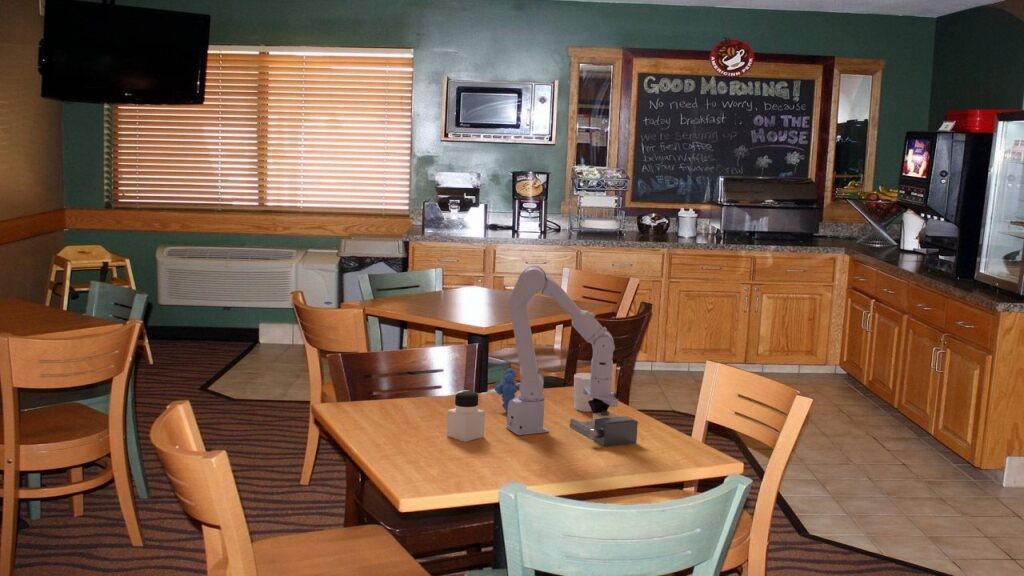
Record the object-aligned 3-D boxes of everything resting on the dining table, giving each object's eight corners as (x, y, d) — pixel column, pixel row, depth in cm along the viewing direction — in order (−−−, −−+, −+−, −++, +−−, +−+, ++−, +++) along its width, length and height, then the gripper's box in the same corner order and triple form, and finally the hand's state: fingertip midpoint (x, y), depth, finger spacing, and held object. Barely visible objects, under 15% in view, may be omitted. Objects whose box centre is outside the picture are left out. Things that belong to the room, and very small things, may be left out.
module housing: (593, 448, 247) (595, 424, 246) (557, 428, 264) (558, 405, 263) (636, 443, 253) (637, 419, 252) (598, 423, 270) (599, 401, 269)
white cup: (589, 414, 280) (591, 380, 278) (567, 408, 284) (568, 375, 283) (604, 409, 286) (606, 376, 285) (581, 404, 291) (583, 371, 289)
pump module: (601, 436, 254) (603, 415, 253) (591, 431, 259) (592, 410, 258) (618, 435, 256) (619, 413, 255) (607, 429, 261) (608, 408, 260)
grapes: (495, 403, 287) (497, 364, 285) (518, 404, 287) (520, 365, 285) (491, 413, 276) (493, 372, 274) (515, 415, 275) (517, 374, 273)
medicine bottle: (484, 437, 253) (486, 392, 251) (465, 442, 248) (466, 396, 246) (465, 431, 258) (467, 387, 256) (445, 436, 253) (447, 391, 251)
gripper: (628, 382, 254) (625, 432, 256) (599, 370, 266) (596, 417, 268) (606, 384, 250) (603, 435, 252) (577, 371, 263) (574, 420, 265)
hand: (598, 426), depth 260 cm, fingers closed, pressing on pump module
